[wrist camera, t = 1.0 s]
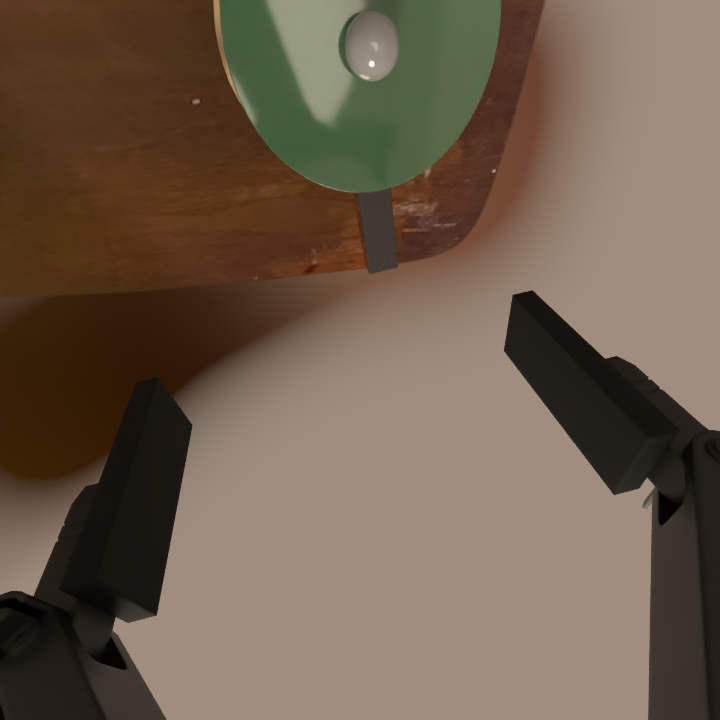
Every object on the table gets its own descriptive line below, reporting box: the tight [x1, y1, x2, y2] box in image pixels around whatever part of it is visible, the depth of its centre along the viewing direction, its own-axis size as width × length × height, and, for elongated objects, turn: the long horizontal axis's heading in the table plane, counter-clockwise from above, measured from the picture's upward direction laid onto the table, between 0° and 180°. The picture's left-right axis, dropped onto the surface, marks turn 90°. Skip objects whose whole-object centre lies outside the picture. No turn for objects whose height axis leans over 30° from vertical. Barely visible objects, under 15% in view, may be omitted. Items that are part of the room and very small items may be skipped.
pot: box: [219, 0, 501, 274], centre depth 22 cm, size 19×13×13 cm, turn 9°
